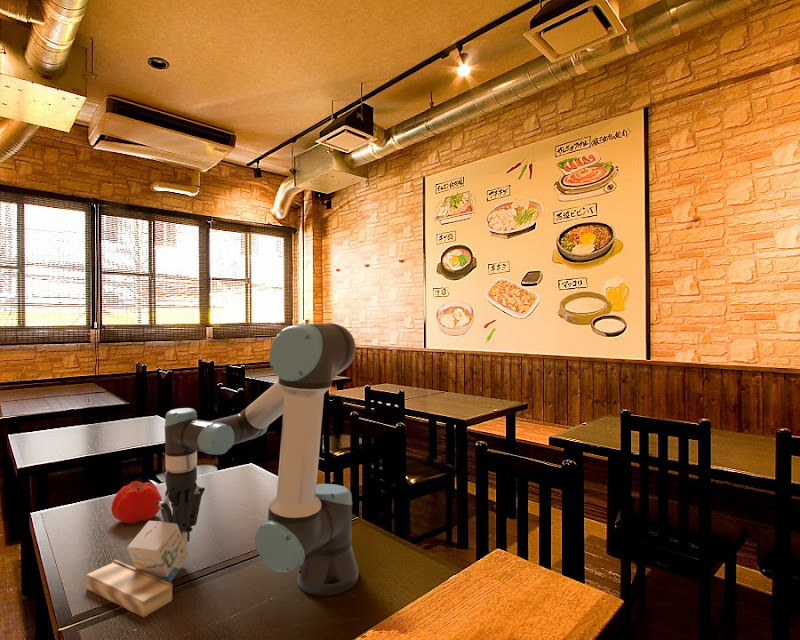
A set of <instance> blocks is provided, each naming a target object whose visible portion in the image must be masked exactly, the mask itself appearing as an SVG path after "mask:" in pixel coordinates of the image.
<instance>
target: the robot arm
mask: <svg viewBox="0 0 800 640" xmlns="http://www.w3.org/2000/svg"><path fill="white" fill-rule="evenodd" d="M356 351H357V345H356V342H355V338H354V336H353V335H352V333H351V331H349V330H348V328H346V327H345V326H342V325H340V324H338V323H299V324H295V325H289V326H287V327H285V328H283V329H282V330H281V331H280V332H278V333H277V334H276V336H275V337H274V338H273V340H272V342H271V344H270V349H269V356H268V357H269V358H268V359H269V364H270V367H272V368H273V370H272V371H273V373H274V375H275V376H276V377H278V380H277V381H276V382H275V383H274V384H272V385H271V386H270V387H269V388H268V389H266V390H265V391H264V392H263V393H262V394H260V396H258V397H257V398H256V399H255V400H253V402H251V403H250V404H249V405H248V406H247V407H246V408H244V409H242V410H241V412H239V413H237V414H234V415H229V416H225V417H221V418H217V419H214V420H202V419H198V415H197V411H196V410H195V408H192V407H191V408H190V407H183V408H181V407H180V408H174V409H171V410H170V409H169V411H167V412H166V414H165V419H164V420H165V421H164V445H165V446H164V448H165V449H164V451H165V453H164V455H165V470H166V471H165V486H166V490H165V494H164V497H163V498H162V501H158V502H157V506H158V507H159V508H160V509H159V511H160V513H161V516H162V520H163V521H162V522H169V523H176V524H177V525H178V527H179V530H180V532H181V535H182V538H183V540H184V543H185V546H186V548H187V549H188V543H189V542H190V532H192V531H193V528H192V527H193V526H194V527H195V526H197V522H198V516H199V512H200V506H201V502H202V501H201V500H202V496H203V494H204V492H205V491H206V489H205V487H203V486H199V485H198V483H197V481H198V480H197V479H198V468H197V465H198V452H202V453H204V454H208V455H223V454H225V453H228V451H229V450H230V449H231V448H232V447H233V446H234V445H236V444H240V443H243V442H246V441H249V440H254V439H256V438H258V437H260V436H263V435H264V434H265V433H267V431H268V427H269V426H270V424H272V423H273V422H274V421H276V420H277V419H278V418H279V417H281V416H282V423H281V424H282V426H281V435H280V436H281V437H280V450H279V464H278V475H277V489H276V495H275V496H274V497H272V498H271V500H270V501H269V504H268V512H267V513H268V514H267V519H266V520H264V521H263V522H262V523H260V525H259V526H258V527H257V529H256V531H255V538H254V540H255V542H254V543H255V546H256V550H257V552H258V555H259V556H260V557H261V558H262V561H263V562H264V563H265V565H266V566H268V567H269V568H270V569H271V570H273V571H276V572H278V573H288V572H291V571H293V570H294V569H296V568H298V569H297V584H298V586H299V588H300V589H301V590H302V591H304V592H305V593H308V594H310V595H315V596H333V595H338V593H339V594H342V593H344V592H346V591H348V590H350V589H351V588H353V587H354V586H355V585H356V584H357V582H358V579H359V565H358V562H357V561H356V557H355V554H354V550H353V547H352V535H353V533H352V529H353V527H352V526H353V524H352V523H353V522H352V521H353V516H352V515H353V512H352V511H353V500H352V499H353V498H352V497H353V496H352V492H351V490H350V489H349V488H348V487H346V486H344V485H339V484H333V483H318V484H317V482H318V470H319V459H320V448H321V447H320V446H321V437H322V436H321V435H322V434H321V433H322V422H323V413H324V411H323V410H324V399H325V394H326V393H327V392H328V391H329V390H330V389H331V388H332V384H333V379H335V378H336V377H338V375H340V374H341V373H343V371H344V370H346V369H348V367H349V366H350V365H351V364H352V362H353V360H354V358H355V356H356Z"/></svg>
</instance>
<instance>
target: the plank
mask: <svg viewBox="0 0 800 640" xmlns="http://www.w3.org/2000/svg"><path fill="white" fill-rule="evenodd" d="M86 589H87V590H88V591H90V592H93V593H95V594H96V595H98V596H101V597H102V598H104V599H106V600H108V601H110V602H112V603H115V604H116V605H117V606H120V607H122V608H124V609H126V610H128V611H130V612H132V613H134V614H136V615H137V616H140V617H142V618H144V617H147V616H148V615H150V614H152V613H153V612H155V611H157V610H158V609H160V608H162V607H164V606H165V605H167V604H169V603H171V602H172V601H173V583H172V582H171V583H169V582H167V581H165V580H162V579H160V578H158V577H155V576H153V575H151V574H148V573H146V572H144V571H141V570H139V569H136V567H135V566H132V565H130V564H127V563H125V562H122V561H121V560H118V559H114V560H113V562H111V563H109V564H107V565H104V566H103V567H100V568H98V569H96V570H93V571H92V572H89V573H87V574H86Z"/></svg>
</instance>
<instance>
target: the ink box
mask: <svg viewBox="0 0 800 640" xmlns="http://www.w3.org/2000/svg"><path fill="white" fill-rule="evenodd" d="M126 550H127V552H128V554H129V556H130V558H131V560H132V563H133V565H134V567H135V568H136V569H139V570H141V571H144V572H146V573H148V574H151V575H153V576H155V577H158V578H160V579H162V580H165V581H167V582H169V583H172V581H173V580H174V578H175V577H176V576H177V574H178V572H179V571H180V569H181V568H182V567H183V566H184V564H185V562H186V561H187V559H188V558H189V556H190V554H189V552H188V547H187V548H186V546H185V543H184V540H183V538H182V535H181V532H180V530H179V527H178V525H177V524H176V523H169V522H164V521H158V520H147V521H146V524H144V526H143V527H142V528H141V530H140V531H139V532H138V533H137V534H136V536H135V537H134V538H133V539H132V541H131V542H130V543H129V544H128V546H127V547H126Z"/></svg>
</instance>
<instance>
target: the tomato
mask: <svg viewBox="0 0 800 640" xmlns="http://www.w3.org/2000/svg"><path fill="white" fill-rule="evenodd" d="M162 500H163V497H162V496H161V494H160V491H159V489H158V487H157V486H156V485H155V484H154V483H152V482H148V481H147V482H144V483H143V482H141V481H138V480H136V481H135V480H134V481H131V482H130V483H128V484H126V485H124V486H122V487H121V488H120V489H119V490H118V491H117V493H116V494H115V496H114V498H113V500H112V504H111V508H110V509H111V510H110V511H111V515H112V516H113V517H114V518H115V519H116V520H118V521H120V522H121V523H124V524H128V525H129V524H131V525H134V524H137V523H139V522H148V521H150V520H151V519H152V518H154V517H155V516H156V515H157V514H158V513H159V511H160V508H159V507H158V506H157V502H158V501H162Z"/></svg>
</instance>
